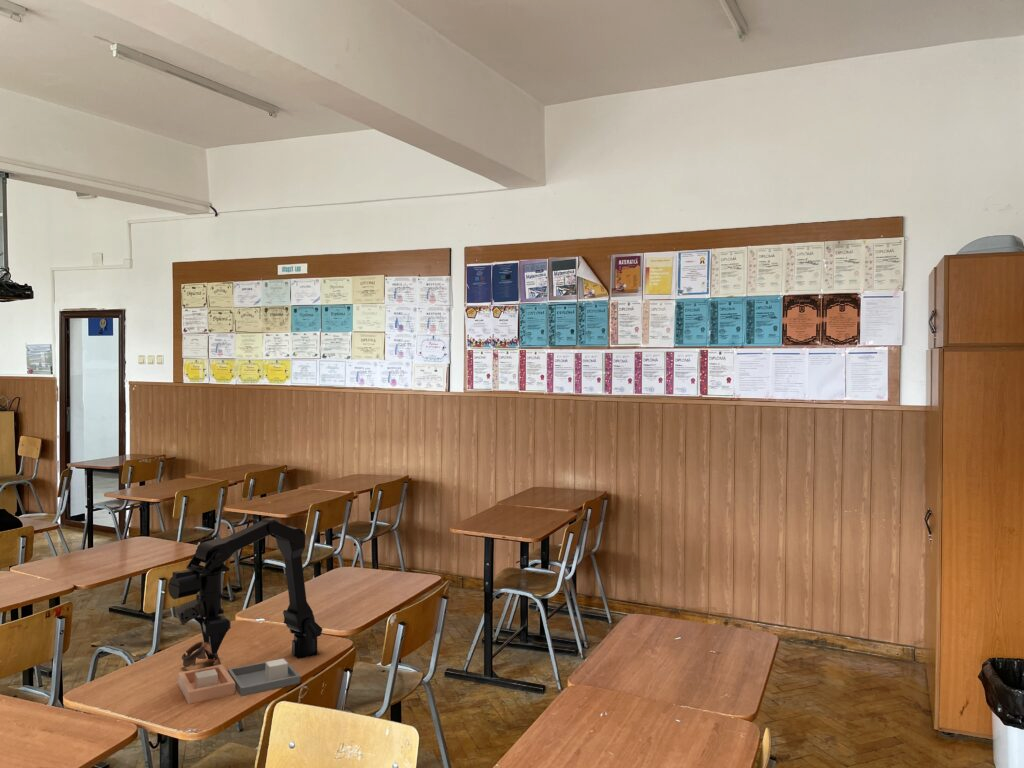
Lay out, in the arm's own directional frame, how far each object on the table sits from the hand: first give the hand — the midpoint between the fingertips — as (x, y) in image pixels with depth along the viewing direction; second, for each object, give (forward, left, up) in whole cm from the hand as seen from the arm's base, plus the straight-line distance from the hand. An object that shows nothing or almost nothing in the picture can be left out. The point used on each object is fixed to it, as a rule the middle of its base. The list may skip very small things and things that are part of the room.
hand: (210, 647), depth 202 cm
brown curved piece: (-2, -16, -11) cm, 20 cm away
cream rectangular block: (+1, +1, -10) cm, 10 cm away
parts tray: (-13, +3, -11) cm, 17 cm away
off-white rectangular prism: (-17, +3, -10) cm, 20 cm away
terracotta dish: (+1, +1, -11) cm, 11 cm away
